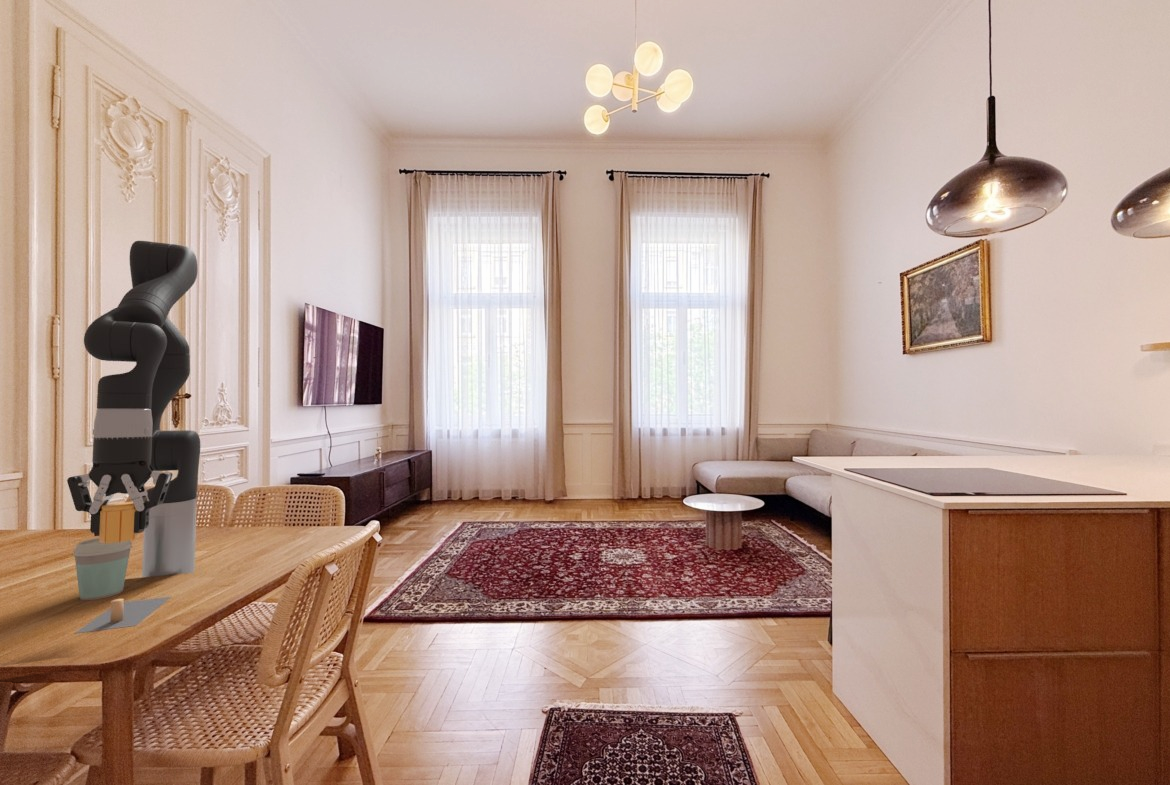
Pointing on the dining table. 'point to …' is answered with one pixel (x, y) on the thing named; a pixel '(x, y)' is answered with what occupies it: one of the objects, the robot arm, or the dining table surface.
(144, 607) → the board
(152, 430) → the robot arm
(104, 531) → the wire nut
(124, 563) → the coffee cup
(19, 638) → the dining table surface
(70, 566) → the dining table surface
